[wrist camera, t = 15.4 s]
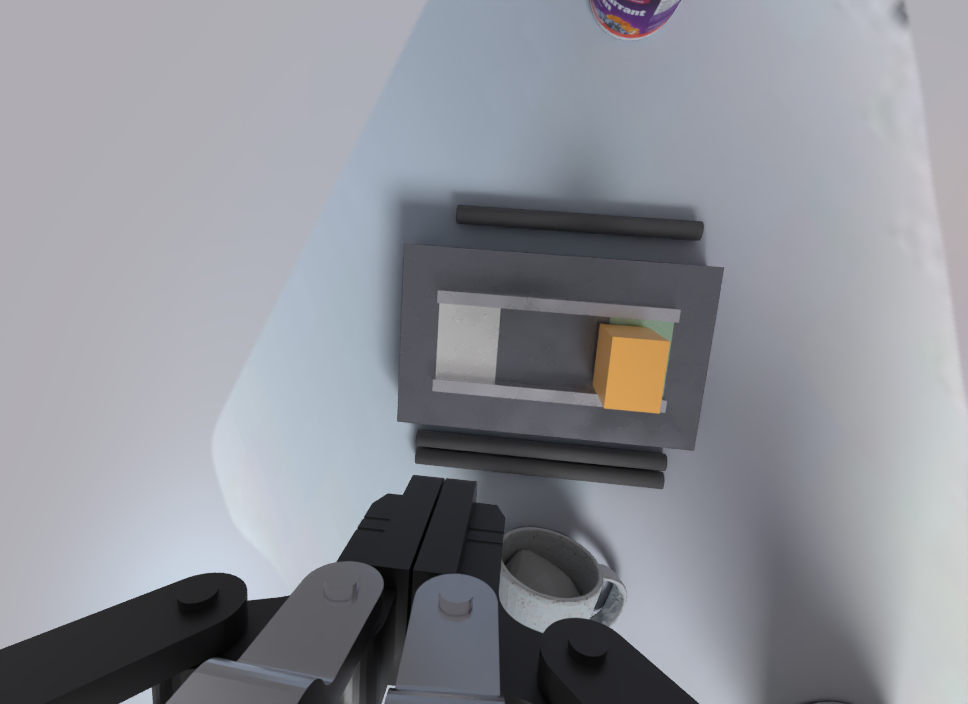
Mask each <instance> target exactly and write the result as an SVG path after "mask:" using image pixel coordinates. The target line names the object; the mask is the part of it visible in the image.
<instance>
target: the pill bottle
mask: <svg viewBox="0 0 968 704" xmlns="http://www.w3.org/2000/svg"><path fill="white" fill-rule="evenodd" d="M680 1H681V0H590V5H591V10H592V13H593V15H594V18H595V20H596V21H597V23H598V24H599V26H600V27H601V28H602V29H603V30H604V31H605V32H606V33H608V34H609V35H611V36H613V37H615V38H617V39H620V40H626V41H634V40H640V39H643V38H646V37H648V36H650V35H652V34H653V33H655V32H656V31H658V30H659V29H660V28H661V27H662V26H663V25H664V24H665V23H666V22H667V20H668V19H669V18H670V17H671V15H672V14H673V12H674V11H675V9H676V8H677V6H678V4H679V3H680Z"/></svg>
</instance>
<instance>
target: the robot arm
mask: <svg viewBox="0 0 968 704" xmlns="http://www.w3.org/2000/svg"><path fill="white" fill-rule="evenodd" d="M476 496H477V481H467V480H458V479H448V478H446V480H445V479H444V478H438V477H428V476H419V475H413V476H412V478H411V480H410V482H409V484H408V486H407V488H406V490H405V492H404V494H403V495H397V494H386V495H385V496H383V497H382V498H380V499H379V500H377V501H375V502H374V503H372V505H371V506H370V508H369V510H368V511H367V513H366V515H365V516H364V519H362V521H361V523H360V524H359V526H358V529H357V530H356V531H355V532H354V534H353V536H352V537H351V539H350V541H349V542H348V544H347V546H346V547H345V549H344V550H343V552H342V554H341V555H340V557H339V559H338V560H337V562H335V563H331V564H327V565H324V566H322V567H320V568H317V569H316V570H314V571H312V572H311V573H310V574H308V575H307V576H306V577H305V578H304V579H303V580H302V582H301V583H300V584H299V585H298V587H297V588H296V589H295V590H294V592H293V593H292V594H291V595H290V596H284V597H278V598H269V599H259V600H251V601H247V587H246V584H245V583H244V581H242V580H241V579H240V578H238V577H237V576H234V575H231V574H226V573H206V574H201V575H196V576H192V577H189V578H186V579H183V580H180V581H178V582H175V583H173V584H170V585H167V586H165V587H162V588H160V589H157V590H154V591H152V592H149V593H147V594H144V595H141V596H139V597H136V598H133V599H131V600H128V601H126V602H123V603H120V604H118V605H115V606H113V607H110V608H107V609H105V610H102V611H100V612H97V613H95V614H92V615H89V616H87V617H84V618H81V619H79V620H76V621H74V622H71V623H68V624H66V625H63V626H61V627H58V628H55V629H53V630H50V631H48V632H45V633H42V634H40V635H37V636H35V637H32V638H30V639H27V640H24V641H21V642H19V643H16V644H14V645H11V646H8V647H6V648H3V649H1V650H0V704H119V703H121V702H123V701H125V700H127V699H129V698H131V697H133V696H135V695H137V694H139V693H141V692H143V691H145V690H147V689H149V688H151V687H152V696H153V704H381V703H382V700H383V697H384V694H385V691H386V688H387V685H393V686H395V688H389V690H388V693H387V696H386V699H385V703H384V704H699V703H698V702H697V701H695V700H694V699H693V698H692V697H691V696H690V695H689V694H687V693H686V692H685V691H684V690H683V689H682V688H680V687H679V686H678V685H677V684H676V683H675V682H674V681H672V680H671V679H670V678H669V677H668V676H667V675H665V674H664V673H663V672H662V671H661V670H660V669H659V668H657V667H656V666H655V665H654V664H653V663H652V662H650V661H649V660H648V659H647V658H646V657H645V656H643V655H642V654H641V653H640V652H639V651H638V650H637V649H635V648H634V647H633V646H632V645H631V644H630V643H628V642H627V641H626V640H625V639H624V638H623V637H622V636H620V635H619V634H618V633H617V632H615V631H614V630H613V629H611V628H609V627H608V626H606V625H604V624H601V623H599V622H596V621H593V620H590V619H585V618H566V619H561V620H558V621H556V622H554V623H552V624H551V625H549V626H548V627H547V628H546V629H545V631H544V632H543V633H542V632H539V631H536V630H534V629H531V628H529V627H527V626H525V625H523V624H521V623H519V622H518V621H516V620H515V619H514V618H512V617H511V616H510V615H509V614H508V613H507V612H506V610H505V609H504V607H503V606H502V604H501V602H500V598H499V584H500V572H501V560H502V549H503V537H504V525H505V517H504V515H503V514H502V512H501V511H500V509H499V508H498V506H497V505H491V504H481V503H476ZM813 704H846V703H839V702H818V703H813Z"/></svg>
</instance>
